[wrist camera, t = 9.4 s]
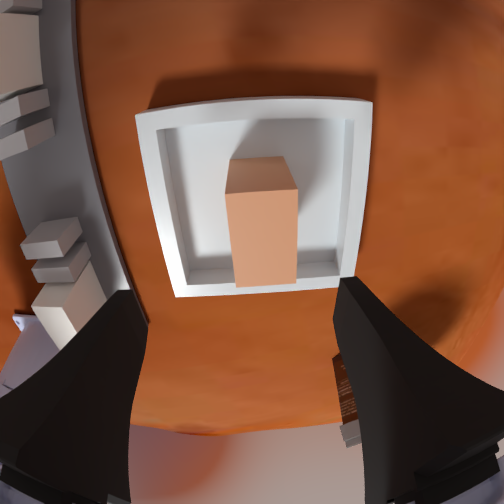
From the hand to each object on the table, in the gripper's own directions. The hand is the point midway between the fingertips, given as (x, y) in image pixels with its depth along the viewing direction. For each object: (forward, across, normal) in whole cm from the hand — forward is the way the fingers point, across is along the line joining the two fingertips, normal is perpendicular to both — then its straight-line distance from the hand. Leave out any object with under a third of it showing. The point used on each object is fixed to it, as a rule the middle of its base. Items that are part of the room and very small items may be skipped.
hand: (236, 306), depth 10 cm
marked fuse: (+9, -1, 0) cm, 9 cm away
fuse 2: (+9, +13, +6) cm, 17 cm away
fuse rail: (+9, +13, -3) cm, 16 cm away
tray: (+9, -1, 0) cm, 9 cm away
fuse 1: (+9, +13, -12) cm, 20 cm away
